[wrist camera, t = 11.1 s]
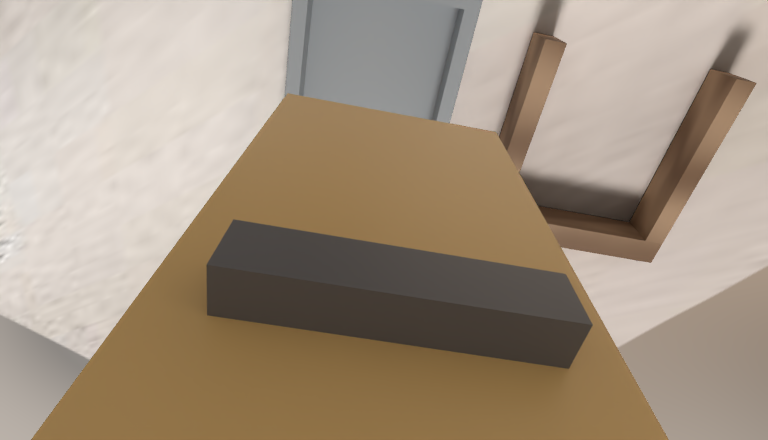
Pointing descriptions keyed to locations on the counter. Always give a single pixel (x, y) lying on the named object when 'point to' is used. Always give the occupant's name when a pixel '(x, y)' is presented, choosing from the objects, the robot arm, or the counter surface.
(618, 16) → the counter surface
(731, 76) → the walnut bay
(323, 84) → the grey tray
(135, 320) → the yellow block
